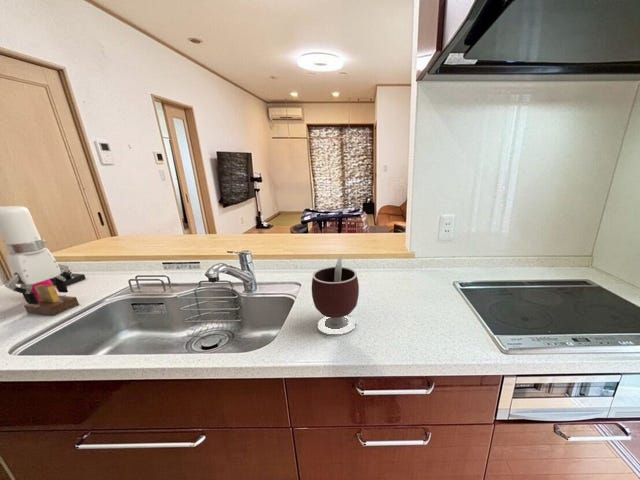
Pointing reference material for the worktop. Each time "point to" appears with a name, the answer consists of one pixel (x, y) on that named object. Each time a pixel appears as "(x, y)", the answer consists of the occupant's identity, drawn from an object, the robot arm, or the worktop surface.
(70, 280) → the doorbell
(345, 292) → the mate gourd
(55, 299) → the lock turn
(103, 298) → the worktop surface
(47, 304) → the brown flat block
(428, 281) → the worktop surface
